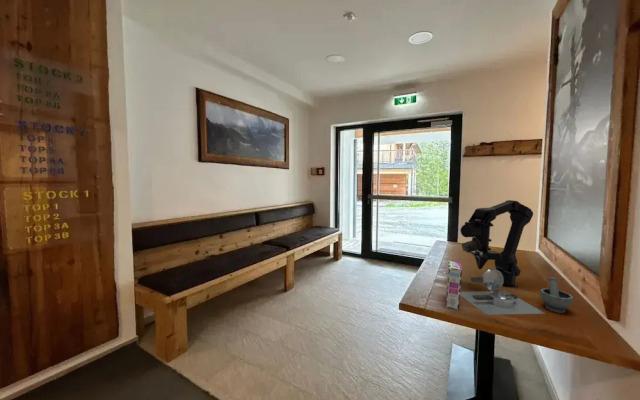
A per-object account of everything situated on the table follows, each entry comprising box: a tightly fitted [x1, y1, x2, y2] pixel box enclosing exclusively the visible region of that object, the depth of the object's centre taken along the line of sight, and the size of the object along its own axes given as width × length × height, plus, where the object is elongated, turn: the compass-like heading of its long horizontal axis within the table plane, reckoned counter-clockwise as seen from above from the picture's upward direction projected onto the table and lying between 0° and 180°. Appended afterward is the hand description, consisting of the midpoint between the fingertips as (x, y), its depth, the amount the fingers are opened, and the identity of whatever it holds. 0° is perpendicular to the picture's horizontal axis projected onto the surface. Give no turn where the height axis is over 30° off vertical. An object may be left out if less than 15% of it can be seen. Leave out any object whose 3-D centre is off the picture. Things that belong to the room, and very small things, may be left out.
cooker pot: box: [473, 290, 519, 308], centre depth 111 cm, size 18×9×3 cm, turn 94°
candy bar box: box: [445, 260, 463, 310], centre depth 110 cm, size 11×5×16 cm, turn 155°
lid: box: [470, 267, 504, 291], centre depth 115 cm, size 14×9×2 cm
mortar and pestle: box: [539, 276, 574, 314], centre depth 107 cm, size 11×9×12 cm
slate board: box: [460, 290, 546, 316], centre depth 112 cm, size 24×20×1 cm
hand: (479, 268), depth 124 cm, fingers closed
